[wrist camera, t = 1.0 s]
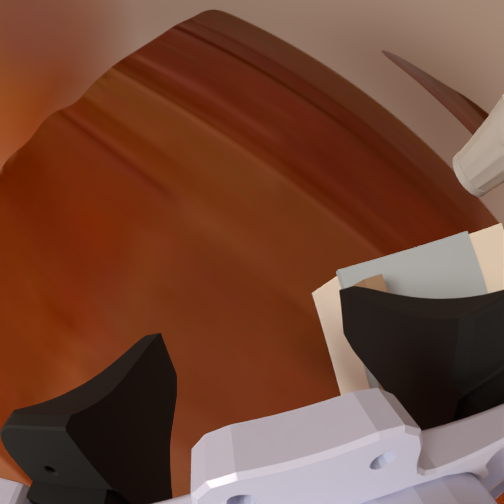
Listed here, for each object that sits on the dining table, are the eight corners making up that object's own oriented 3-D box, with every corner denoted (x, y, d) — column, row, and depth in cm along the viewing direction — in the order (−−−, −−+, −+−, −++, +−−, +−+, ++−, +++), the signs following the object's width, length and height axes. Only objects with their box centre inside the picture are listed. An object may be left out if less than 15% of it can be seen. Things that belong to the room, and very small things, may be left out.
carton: (494, 346, 25) (534, 340, 19) (349, 429, 21) (383, 446, 16) (465, 243, 28) (501, 223, 22) (311, 293, 25) (338, 275, 19)
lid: (501, 374, 17) (522, 373, 15) (383, 451, 15) (403, 461, 13) (463, 233, 21) (482, 221, 18) (335, 271, 19) (351, 260, 16)
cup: (449, 138, 33) (499, 81, 21) (490, 170, 32) (543, 124, 21) (445, 179, 30) (507, 120, 19) (489, 214, 30) (554, 169, 18)
